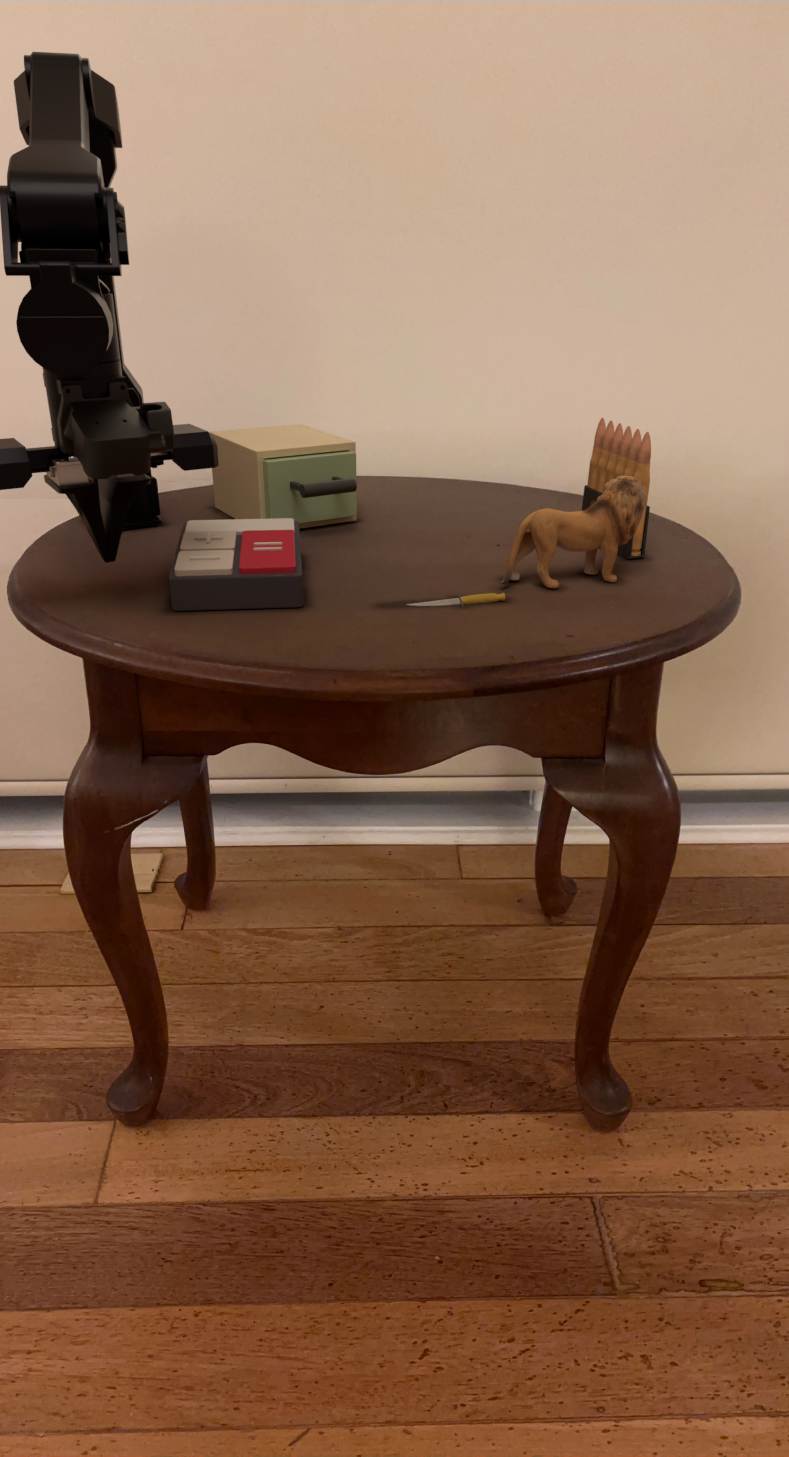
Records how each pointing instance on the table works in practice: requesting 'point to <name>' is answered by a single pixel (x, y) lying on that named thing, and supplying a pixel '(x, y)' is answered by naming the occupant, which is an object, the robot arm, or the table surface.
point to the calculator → (237, 565)
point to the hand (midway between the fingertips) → (109, 561)
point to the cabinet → (243, 465)
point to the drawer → (311, 486)
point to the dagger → (465, 600)
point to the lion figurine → (581, 531)
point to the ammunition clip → (620, 474)
